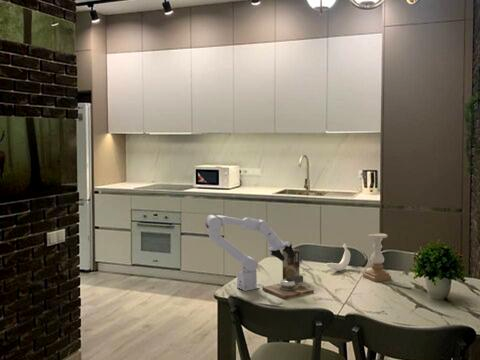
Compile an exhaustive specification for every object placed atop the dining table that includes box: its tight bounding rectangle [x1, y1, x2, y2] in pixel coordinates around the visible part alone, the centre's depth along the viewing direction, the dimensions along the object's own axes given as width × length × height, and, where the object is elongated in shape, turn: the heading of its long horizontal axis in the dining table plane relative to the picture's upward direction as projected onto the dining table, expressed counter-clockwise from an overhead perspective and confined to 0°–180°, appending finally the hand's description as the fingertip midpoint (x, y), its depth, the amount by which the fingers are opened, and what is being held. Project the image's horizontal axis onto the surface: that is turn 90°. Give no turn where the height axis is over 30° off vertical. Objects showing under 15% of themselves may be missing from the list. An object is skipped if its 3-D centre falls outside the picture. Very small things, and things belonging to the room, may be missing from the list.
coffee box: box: [281, 248, 300, 280], centre depth 279 cm, size 9×6×16 cm
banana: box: [326, 242, 351, 272], centre depth 296 cm, size 5×19×15 cm, turn 136°
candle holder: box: [362, 232, 392, 283], centre depth 279 cm, size 11×11×24 cm
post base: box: [262, 282, 315, 300], centre depth 258 cm, size 18×18×2 cm
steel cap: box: [280, 274, 304, 288], centre depth 259 cm, size 12×7×4 cm, turn 124°
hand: (288, 258), depth 268 cm, fingers open, 7 cm apart
